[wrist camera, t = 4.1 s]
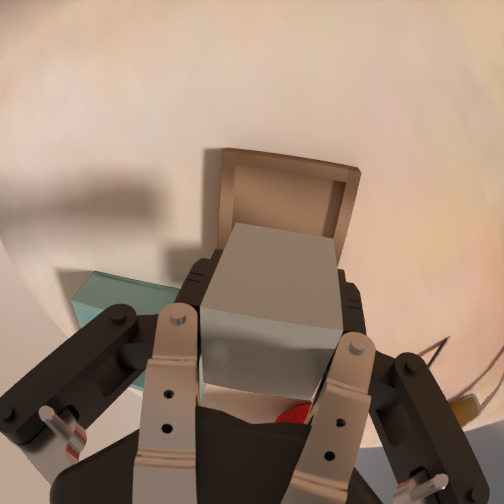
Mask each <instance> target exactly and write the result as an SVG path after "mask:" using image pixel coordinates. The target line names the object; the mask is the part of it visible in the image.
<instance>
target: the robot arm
mask: <svg viewBox="0 0 504 504" xmlns="http://www.w3.org/2000/svg"><path fill="white" fill-rule="evenodd" d="M223 251H224V250H222V249H215V251H214V253H213V255H212V257H211V259H205V258H201V259H200V260H199V261H197V262H196V263H194V264H193V266H192V268H191V270H190V272H189V274H188V276H187V278H186V280H185V282H184V283H183V285H182V287H181V289H180V291H179V293H178V295H177V297H176V299H175V301H174V303H172V304H169V305H167V306H165V307H164V308H163V309H162V310H161V311H160V313H159V314H154V315H137V314H136V311H135V309H134V308H133V307H131V306H130V305H127V304H114V305H111V306H109V307H108V308H106V309H105V310H104V311H102V312H101V313H100V314H98V315H97V316H96V317H95V318H93V319H92V320H91V321H90V322H88V323H87V324H86V325H85V326H84V327H82V328H81V329H80V330H79V331H77V332H76V333H75V334H74V335H72V336H71V337H70V338H69V339H68V340H66V341H65V342H64V343H63V344H62V345H60V346H59V347H58V348H57V349H56V350H54V351H53V352H52V353H51V354H50V355H48V357H46V358H45V359H44V360H43V361H41V362H40V363H39V364H38V365H37V366H36V367H35V368H33V369H32V370H31V371H30V372H28V373H27V374H26V375H25V376H24V377H23V378H22V379H21V380H19V381H18V382H17V383H16V384H15V385H14V386H13V387H11V388H10V389H9V390H8V391H7V392H6V393H5V394H4V395H3V396H1V397H0V432H1V433H3V434H4V435H5V436H6V437H7V438H8V439H9V440H10V441H11V442H12V443H13V444H15V445H16V446H17V447H18V448H20V449H21V450H22V451H23V453H24V454H25V455H26V456H27V458H28V459H29V460H30V461H31V463H32V464H33V465H34V466H35V467H36V469H37V470H38V471H39V472H40V473H41V474H42V476H43V477H44V478H45V479H46V480H47V481H48V482H49V483H50V484H51V485H52V486H51V489H50V504H383V503H382V502H381V500H380V499H379V498H378V496H377V495H376V494H375V493H374V491H373V490H372V489H371V488H370V486H369V485H368V484H367V482H366V481H365V480H364V479H363V477H362V476H361V475H360V473H359V472H358V471H357V469H356V468H355V467H354V465H355V461H356V458H357V454H358V451H359V447H360V444H361V440H362V436H363V432H364V428H365V424H366V420H367V416H368V412H369V414H370V417H371V419H372V421H373V424H374V426H375V429H376V431H377V433H378V436H379V438H380V441H381V443H382V445H383V448H384V450H385V453H386V455H387V458H388V460H389V463H390V465H391V468H392V470H393V473H394V475H395V478H396V480H397V483H398V487H397V488H396V490H395V491H394V495H393V502H392V503H393V504H487V502H488V500H489V494H490V492H489V486H488V484H487V481H486V479H485V477H484V474H483V472H482V470H481V468H480V465H479V463H478V461H477V459H476V457H475V455H474V452H473V450H472V448H471V446H470V444H469V442H468V440H467V438H466V436H465V434H464V432H463V430H462V428H461V426H460V424H459V422H458V420H457V418H456V417H455V415H454V413H453V411H452V409H451V407H450V405H449V403H448V402H447V400H446V398H445V396H444V394H443V393H442V391H441V389H440V387H439V385H438V384H437V382H436V380H435V378H434V377H433V375H432V373H431V371H430V370H429V368H428V366H427V365H426V363H425V362H424V360H423V359H422V358H421V357H419V356H418V355H416V354H414V353H410V352H405V353H401V354H400V355H398V356H397V358H396V359H395V358H393V357H390V356H387V355H385V354H382V353H380V352H379V351H377V350H376V349H375V345H374V343H373V342H372V340H371V339H370V338H369V337H367V334H366V327H365V321H364V314H363V310H362V303H361V296H360V292H359V290H358V289H357V287H356V286H355V284H354V283H349V282H346V279H345V272H344V270H342V269H337V270H338V279H339V289H340V298H341V309H342V321H343V332H342V335H341V337H340V339H339V342H338V344H337V346H336V348H335V350H334V353H333V355H332V357H331V359H330V361H329V363H328V365H327V368H326V370H325V372H324V374H323V376H322V378H321V380H320V383H319V385H318V388H317V391H316V394H315V396H314V399H313V402H312V404H311V407H310V409H309V412H308V415H307V417H306V420H305V422H304V424H300V423H291V422H277V423H264V424H250V423H248V422H245V421H243V420H241V419H238V418H236V417H234V416H231V415H229V414H227V413H225V412H223V411H219V410H215V409H210V408H206V407H201V406H200V357H201V355H202V350H201V325H200V305H201V303H202V301H203V298H204V296H205V293H206V291H207V289H208V286H209V284H210V282H211V279H212V277H213V274H214V272H215V270H216V267H217V265H218V263H219V260H220V258H221V256H222V253H223ZM145 369H146V375H145V383H144V391H143V400H142V410H141V419H140V428H139V429H138V430H136V431H134V432H133V433H131V434H129V435H127V436H126V437H124V438H122V439H120V440H119V441H117V442H115V443H113V444H111V445H110V446H108V447H106V448H104V449H102V450H101V451H99V452H97V453H95V454H93V455H91V456H89V457H87V458H85V459H84V460H82V461H80V462H79V454H80V452H81V451H82V450H83V449H84V446H85V444H86V440H87V436H86V432H85V430H86V429H87V428H88V427H89V426H90V425H91V424H92V423H93V422H94V421H95V420H96V419H97V418H98V417H99V416H100V415H101V414H102V413H103V412H104V411H105V410H106V409H107V408H108V407H109V406H110V405H111V404H112V403H113V402H114V401H115V400H116V399H117V398H118V397H119V396H120V395H121V394H122V393H123V392H124V391H125V390H126V389H127V388H128V387H129V386H130V385H131V384H132V383H133V382H134V381H135V380H136V379H137V378H138V377H139V376H140V375H141V374H142V373H143V372H144V371H145Z"/></svg>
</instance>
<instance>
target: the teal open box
mask: <svg viewBox="0 0 504 504" xmlns="http://www.w3.org/2000/svg"><path fill="white" fill-rule="evenodd" d="M179 291H180V289H176V288H171V287H166V286H161V285H156V284H152V283H147V282H142V281H137V280H133V279H128V278H124V277H119V276H114V275H110V274H106V273H101V272H97V271H95V272H94V273H93V274H92V275H91V276H90V278H89V279H88V280H87V281H86V282H85V283H84V284H83V286H82V287H81V288H80V289H79V290H78V291H77V293H76V294H75V295H74V296H73V297H72V299H71V303H72V306H73V309H74V312H75V315H76V317H77V320H78V323H79V325H80V328H82V327H84V326H85V325H86V324H87V323H88V322H90V321H91V320H92V319H93V318H95V317H96V316H97V315H98V314H100V313H101V312H102V311H104V310H105V309H106V308H108V307H109V306H111V305H114V304H127V305H130V306H131V307H133V308H134V309H135V311H136V314H137V315H154V314H159V313H160V311H161V310H162V309H163V308H164V307H165V306H167V305H169V304H172V303H174V301H175V299H176V297H177V295H178V293H179ZM145 375H146V369H145V371H144V372H143V373H142V374H141V375H140V376H139V377H138V378H137V379H136V380H135V381H134V382H133V383H132V384H131V385H130V386H129V387H132V388H135V389H138V390H141V391H144V383H145ZM205 386H206V383H203V370H202V355H201V357H200V403H201V399H202V396H203V393H204V390H205Z"/></svg>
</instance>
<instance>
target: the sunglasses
mask: <svg viewBox="0 0 504 504" xmlns="http://www.w3.org/2000/svg"><path fill="white" fill-rule="evenodd" d="M450 338H451V336H449V337H448V338H447V339H445V340H444V341H443V342H442V343H441V345H440V346H439V348H438V349H437V351H436V353H435V354H434V356H433V357H432V359H431V360H430V362H429V363H428V365H427V366H428V368H429V370H430V369H431V367H432V365H433V364H434V362H435V361H436V359H437V358H438V356H439V355H440V353H441V352H442V350H443V349H444V347H445V345H446V344H447V342H448V341H449V339H450ZM503 382H504V373H503V375H502V378H501V380H500V382H499V384H498V386H497V387H496V389H495V390H494V391H493V392H492V393H491V394H490V395H489V396H488V397H487V398H486V399H485V401H484V402H483V403H482V404H481V405H480V403H479V401H478V399H477V397H476V395H475V394H472V395H470V396H468V397H466V398H464V399H461V400H459V401H457V402H455V403H452V404H449V405H450V407H451V409H452V411H453V413H454V415H455V417H456V418H457V420H458V422H459V424H460V426H461V428H462V429H464V428H466V427H467V426H468V425H469V424H470V423H472V422H473V421H475V420H476V419H478V418H479V416H480V415H481V413H482V412H483V411H484V409H485V408H486V407H487V406H488V405H489V404H490V402H491V401H492V400H493V398H494V397H495V395H496V394H497V392H498V391H499V389H500V387H501V386H502V384H503Z"/></svg>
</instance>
